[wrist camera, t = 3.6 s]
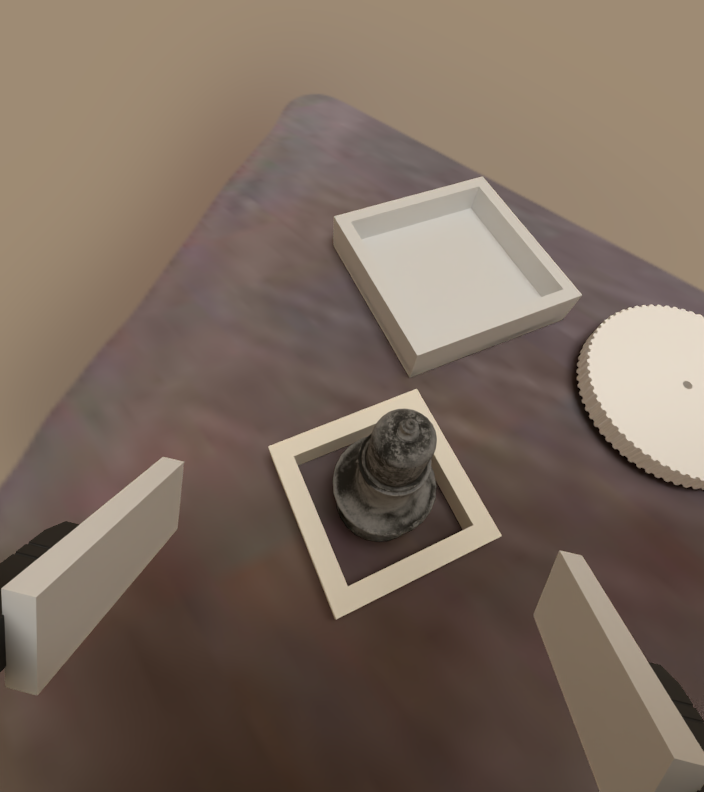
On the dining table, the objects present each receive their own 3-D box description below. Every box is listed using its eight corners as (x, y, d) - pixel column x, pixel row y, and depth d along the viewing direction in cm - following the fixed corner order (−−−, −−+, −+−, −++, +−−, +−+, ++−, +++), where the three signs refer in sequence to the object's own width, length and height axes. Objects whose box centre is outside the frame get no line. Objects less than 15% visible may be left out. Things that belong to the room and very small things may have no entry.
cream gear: (788, 405, 34) (821, 389, 32) (710, 538, 29) (743, 531, 27) (626, 296, 38) (645, 275, 36) (533, 396, 33) (548, 379, 31)
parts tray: (562, 319, 36) (582, 295, 33) (409, 377, 33) (417, 355, 30) (472, 205, 41) (482, 176, 39) (332, 245, 38) (334, 216, 35)
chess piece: (441, 519, 28) (515, 453, 17) (358, 564, 27) (384, 523, 16) (394, 440, 30) (434, 339, 20) (315, 478, 29) (312, 391, 18)
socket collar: (490, 541, 28) (501, 536, 26) (335, 620, 25) (336, 619, 23) (411, 402, 32) (416, 388, 30) (271, 457, 29) (268, 446, 27)
